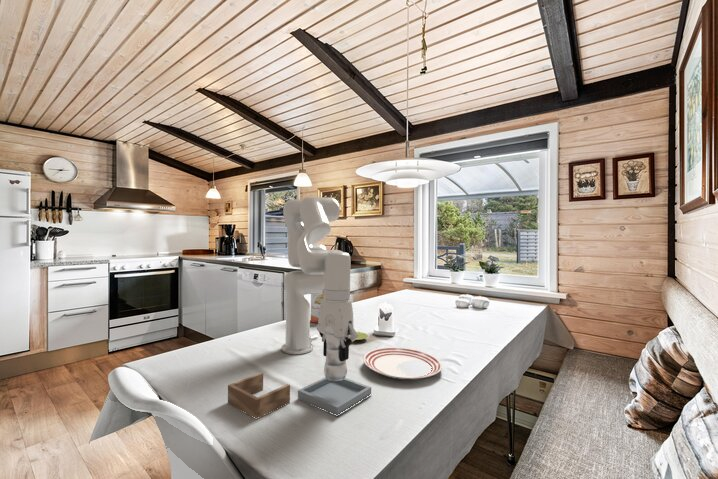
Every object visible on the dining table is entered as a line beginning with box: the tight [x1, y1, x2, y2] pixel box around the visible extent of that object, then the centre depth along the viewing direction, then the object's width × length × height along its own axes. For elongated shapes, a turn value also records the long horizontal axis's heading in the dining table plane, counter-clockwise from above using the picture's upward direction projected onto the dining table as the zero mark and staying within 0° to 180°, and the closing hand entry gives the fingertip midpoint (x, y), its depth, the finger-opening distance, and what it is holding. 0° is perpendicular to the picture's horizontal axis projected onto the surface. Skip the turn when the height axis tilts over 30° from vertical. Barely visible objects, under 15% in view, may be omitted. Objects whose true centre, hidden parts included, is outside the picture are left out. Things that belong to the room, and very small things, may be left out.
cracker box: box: [310, 293, 324, 323], centre depth 180 cm, size 14×6×21 cm, turn 81°
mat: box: [349, 331, 369, 341], centre depth 153 cm, size 11×11×2 cm
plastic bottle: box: [323, 326, 348, 381], centre depth 100 cm, size 6×7×20 cm
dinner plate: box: [362, 346, 443, 380], centre depth 122 cm, size 28×27×3 cm
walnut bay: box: [227, 372, 291, 419], centre depth 96 cm, size 11×13×5 cm
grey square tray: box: [297, 377, 372, 415], centre depth 100 cm, size 15×15×2 cm
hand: (335, 356), depth 100 cm, fingers closed on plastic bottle, 5 cm apart
